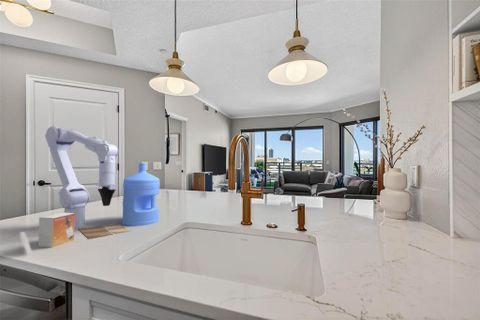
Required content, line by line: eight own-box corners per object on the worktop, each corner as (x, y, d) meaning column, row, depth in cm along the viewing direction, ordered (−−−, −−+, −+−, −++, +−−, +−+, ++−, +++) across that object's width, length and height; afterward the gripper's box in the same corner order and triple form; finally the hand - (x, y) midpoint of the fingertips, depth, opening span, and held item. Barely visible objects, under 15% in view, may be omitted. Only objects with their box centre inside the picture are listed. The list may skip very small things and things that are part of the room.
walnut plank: (78, 231, 92) (78, 228, 92) (100, 228, 98) (100, 225, 98) (88, 241, 81) (89, 238, 81) (113, 237, 87) (113, 234, 87)
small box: (51, 251, 72) (52, 218, 73) (37, 250, 74) (38, 217, 74) (74, 243, 80) (75, 212, 80) (61, 241, 81) (62, 211, 82)
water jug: (113, 226, 101) (115, 163, 101) (139, 218, 116) (140, 163, 116) (143, 230, 97) (144, 163, 97) (165, 221, 112) (167, 163, 112)
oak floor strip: (101, 228, 98) (101, 225, 98) (117, 225, 103) (117, 223, 103) (114, 237, 87) (114, 234, 87) (131, 233, 92) (131, 230, 92)
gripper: (91, 172, 97) (90, 204, 97) (101, 173, 87) (100, 209, 87) (109, 171, 102) (108, 202, 102) (121, 173, 92) (120, 207, 92)
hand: (106, 205), depth 95 cm, fingers closed
